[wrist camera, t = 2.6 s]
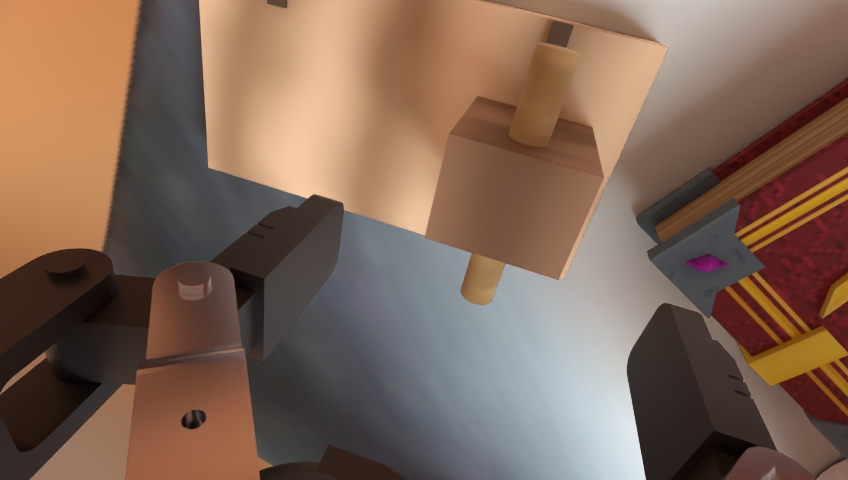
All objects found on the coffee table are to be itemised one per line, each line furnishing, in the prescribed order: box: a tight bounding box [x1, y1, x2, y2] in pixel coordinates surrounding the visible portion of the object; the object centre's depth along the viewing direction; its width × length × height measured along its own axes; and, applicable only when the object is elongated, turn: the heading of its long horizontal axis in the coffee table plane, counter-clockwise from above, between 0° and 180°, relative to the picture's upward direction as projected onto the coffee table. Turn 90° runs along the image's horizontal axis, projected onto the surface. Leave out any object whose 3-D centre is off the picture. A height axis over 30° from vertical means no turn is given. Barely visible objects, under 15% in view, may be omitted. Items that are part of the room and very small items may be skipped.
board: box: [199, 0, 668, 279], centre depth 22 cm, size 20×11×2 cm, turn 79°
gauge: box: [425, 42, 604, 305], centre depth 18 cm, size 5×10×6 cm, turn 169°
